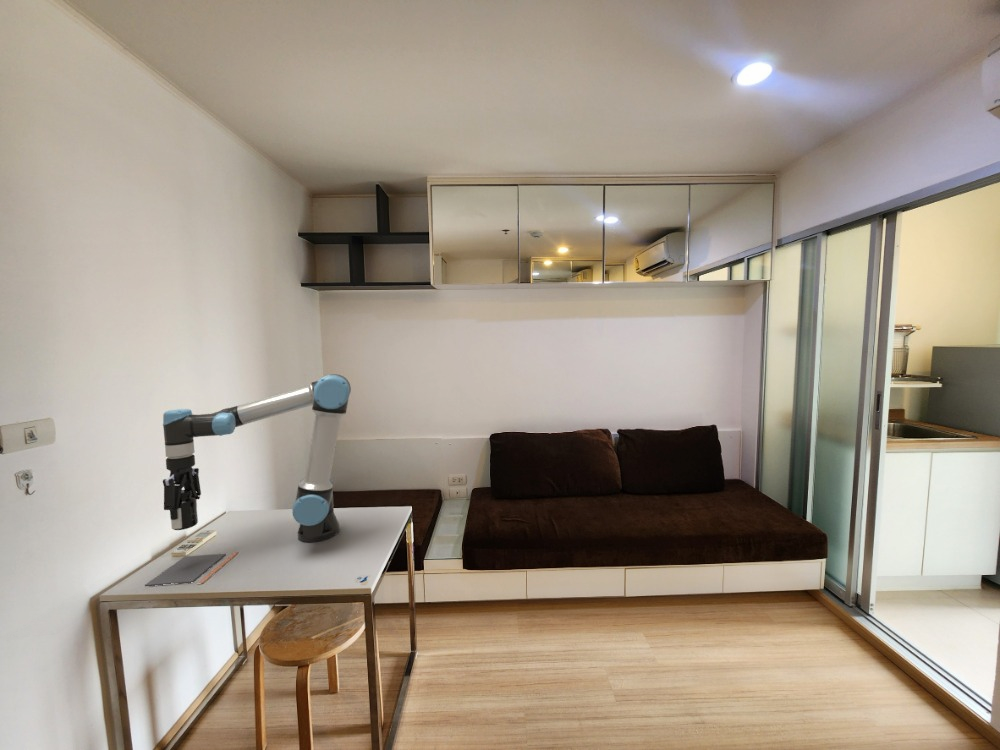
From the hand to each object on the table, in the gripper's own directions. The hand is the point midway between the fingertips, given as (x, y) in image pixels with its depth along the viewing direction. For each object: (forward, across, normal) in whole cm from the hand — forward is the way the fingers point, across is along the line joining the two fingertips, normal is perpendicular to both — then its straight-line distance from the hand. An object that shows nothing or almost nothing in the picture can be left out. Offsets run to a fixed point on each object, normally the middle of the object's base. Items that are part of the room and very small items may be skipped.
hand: (185, 523), depth 134 cm
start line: (+16, 0, +10) cm, 19 cm away
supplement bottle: (+1, 0, 0) cm, 1 cm away
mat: (+16, 0, 0) cm, 16 cm away
